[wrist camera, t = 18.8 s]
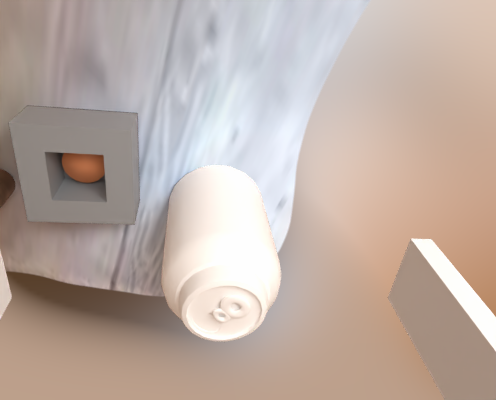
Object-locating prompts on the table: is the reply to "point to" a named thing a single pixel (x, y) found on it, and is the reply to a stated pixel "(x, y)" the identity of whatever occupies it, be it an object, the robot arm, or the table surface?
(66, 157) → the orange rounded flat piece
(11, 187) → the dowel
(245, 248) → the can
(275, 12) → the table surface
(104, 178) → the box
